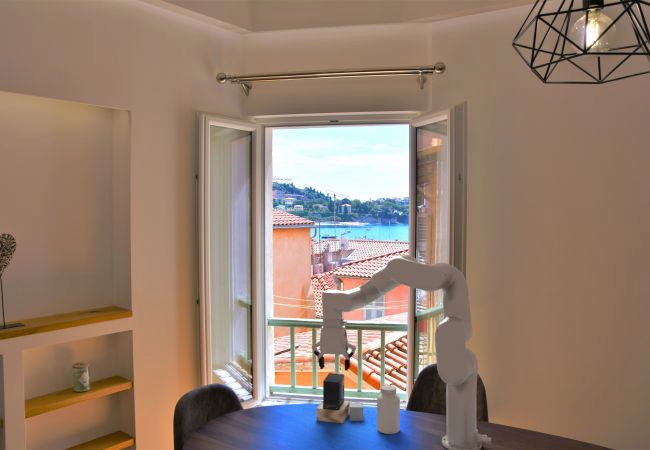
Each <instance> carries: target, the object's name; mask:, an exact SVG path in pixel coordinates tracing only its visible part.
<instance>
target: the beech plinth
mask: <svg viewBox="0 0 650 450" xmlns="http://www.w3.org/2000/svg"><path fill="white" fill-rule="evenodd" d="M349 416H350V401H349V400H348V401H345V400H344V402H343V404H342V405H341V407H340V409H339V410H331V409H323V401H322V402H321V403H320V404H319V405H318V406H317V407H316V421H319V422H326V423H327V422H328V423H336V424H344V422H345V421H346V419H347V418H348V417H349Z"/></svg>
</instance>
